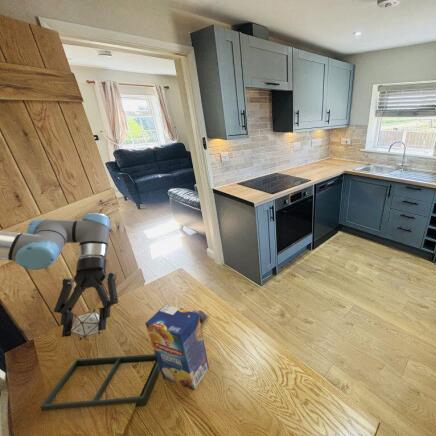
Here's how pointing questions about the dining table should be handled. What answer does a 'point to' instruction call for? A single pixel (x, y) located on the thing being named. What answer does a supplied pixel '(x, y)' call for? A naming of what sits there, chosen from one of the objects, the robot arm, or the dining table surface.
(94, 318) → the game die
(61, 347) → the dining table surface
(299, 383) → the dining table surface
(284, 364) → the dining table surface
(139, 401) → the grid
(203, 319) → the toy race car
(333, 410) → the dining table surface
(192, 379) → the juice carton
